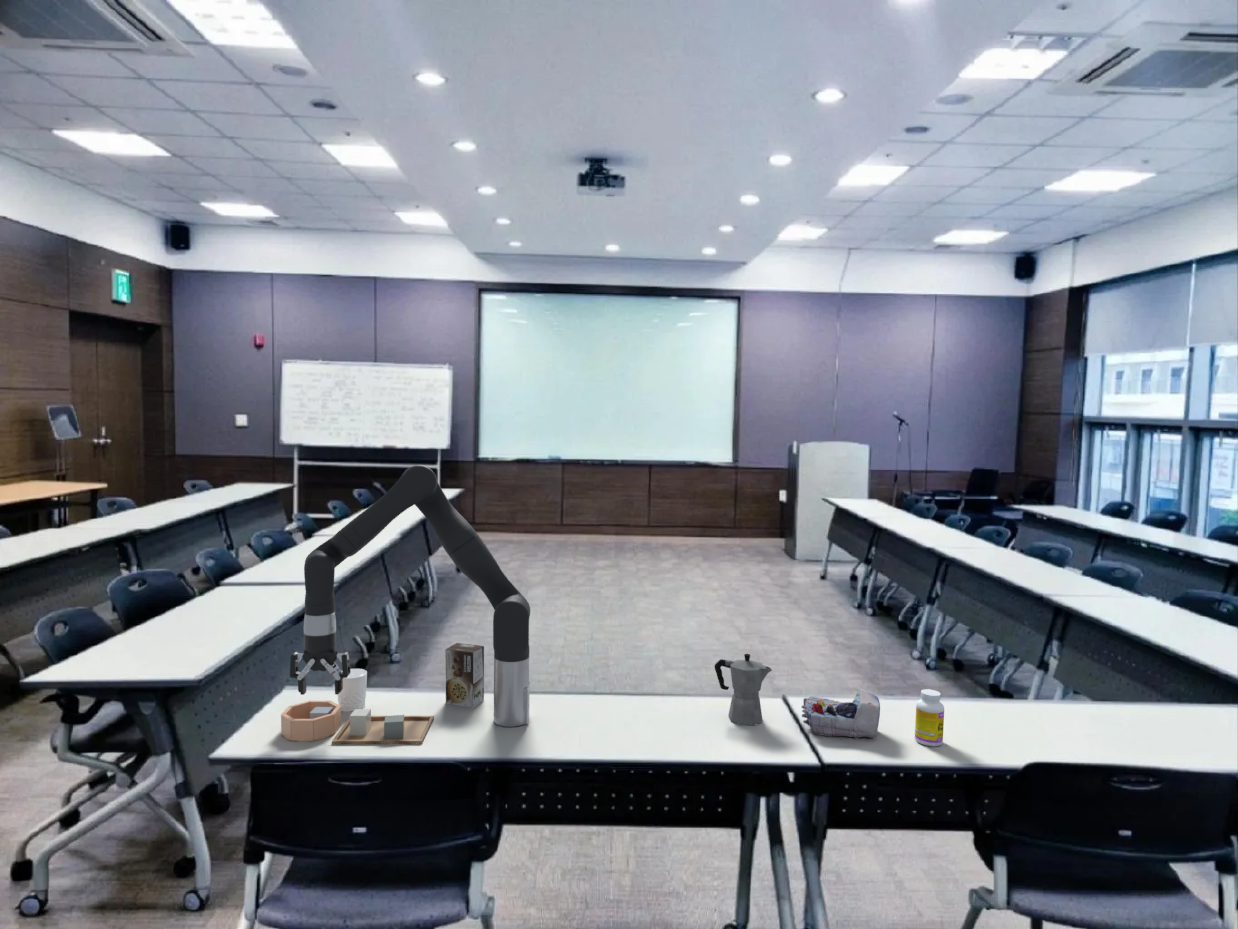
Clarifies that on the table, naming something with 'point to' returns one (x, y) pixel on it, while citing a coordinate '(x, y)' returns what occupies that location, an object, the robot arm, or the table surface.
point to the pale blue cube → (320, 712)
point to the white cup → (353, 691)
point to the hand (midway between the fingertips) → (320, 693)
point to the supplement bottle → (929, 718)
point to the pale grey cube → (360, 722)
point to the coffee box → (464, 674)
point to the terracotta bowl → (309, 721)
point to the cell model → (843, 715)
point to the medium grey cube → (394, 727)
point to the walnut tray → (413, 732)
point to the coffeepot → (744, 689)
